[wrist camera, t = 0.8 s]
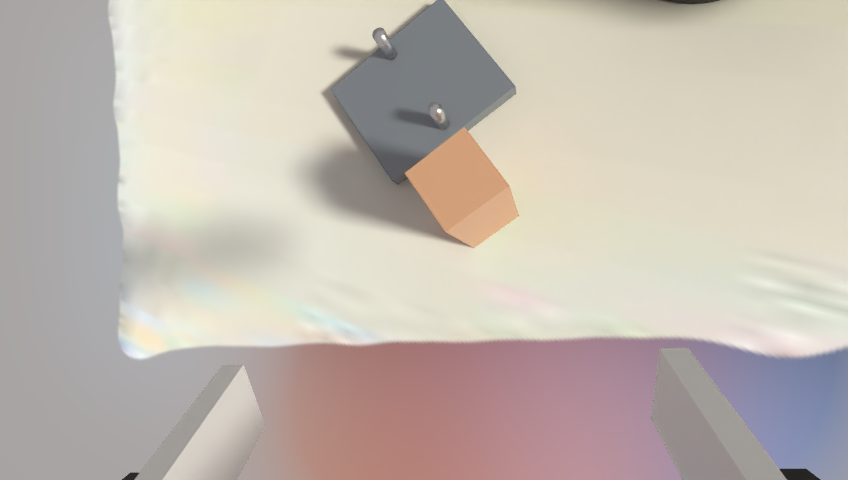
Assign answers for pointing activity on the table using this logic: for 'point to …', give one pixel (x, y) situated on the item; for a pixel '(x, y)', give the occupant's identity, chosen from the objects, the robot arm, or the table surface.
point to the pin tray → (421, 89)
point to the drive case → (464, 190)
